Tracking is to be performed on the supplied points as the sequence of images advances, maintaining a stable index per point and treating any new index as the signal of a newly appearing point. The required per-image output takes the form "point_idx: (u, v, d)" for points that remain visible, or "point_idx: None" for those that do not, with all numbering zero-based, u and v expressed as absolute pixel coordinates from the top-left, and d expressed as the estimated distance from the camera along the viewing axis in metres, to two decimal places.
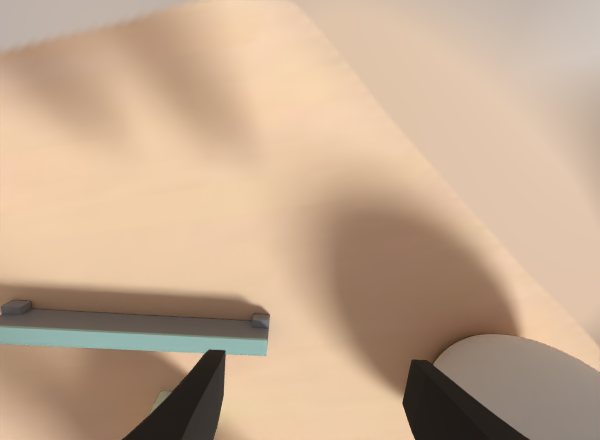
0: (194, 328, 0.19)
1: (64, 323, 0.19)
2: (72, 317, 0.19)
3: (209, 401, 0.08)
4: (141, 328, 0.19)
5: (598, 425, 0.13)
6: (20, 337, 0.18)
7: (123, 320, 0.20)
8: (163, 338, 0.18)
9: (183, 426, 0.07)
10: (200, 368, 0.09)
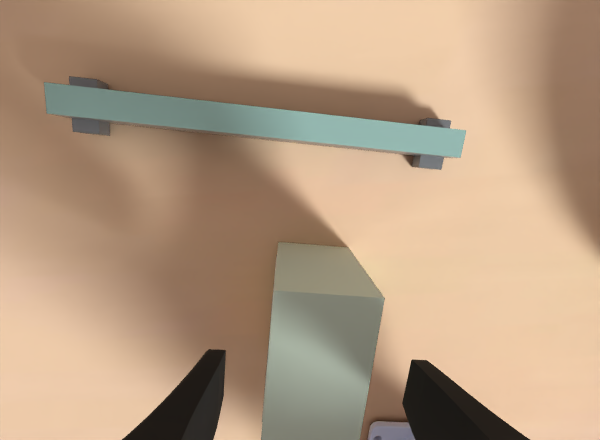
0: None
1: None
2: None
3: (209, 401, 0.08)
4: None
5: None
6: (103, 106, 0.12)
7: None
8: (316, 118, 0.12)
9: (183, 426, 0.07)
10: (200, 368, 0.09)
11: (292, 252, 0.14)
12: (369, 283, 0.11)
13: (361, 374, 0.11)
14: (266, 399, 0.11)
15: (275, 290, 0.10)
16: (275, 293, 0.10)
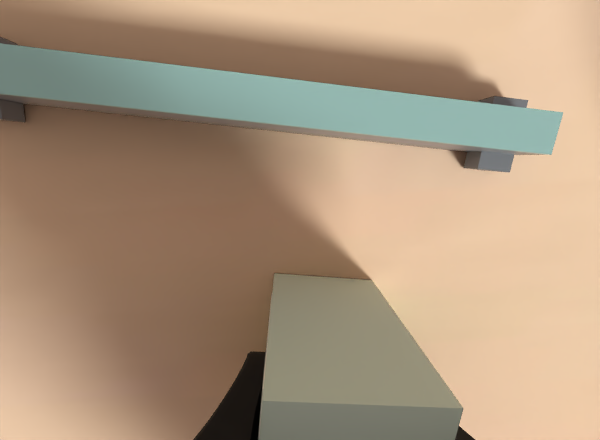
0: None
1: None
2: None
3: (259, 403, 0.09)
4: None
5: None
6: None
7: None
8: (332, 93, 0.08)
9: (248, 428, 0.07)
10: (248, 370, 0.09)
11: (294, 295, 0.10)
12: (424, 365, 0.07)
13: None
14: None
15: (265, 400, 0.05)
16: (265, 405, 0.05)
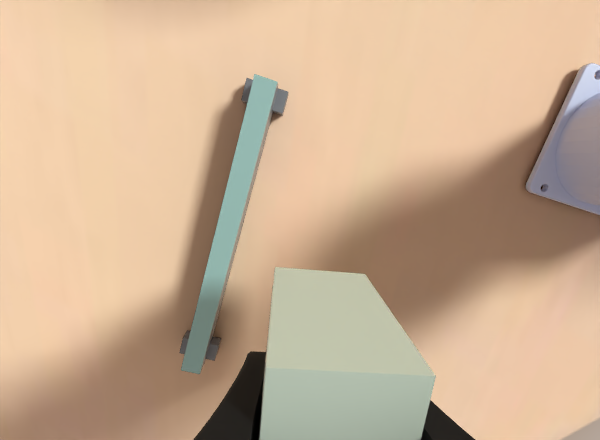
0: None
1: None
2: None
3: (259, 403, 0.09)
4: None
5: None
6: (199, 341, 0.17)
7: None
8: (226, 203, 0.16)
9: (248, 428, 0.07)
10: (248, 370, 0.09)
11: (293, 285, 0.11)
12: (406, 343, 0.08)
13: None
14: None
15: (268, 367, 0.06)
16: (268, 372, 0.06)
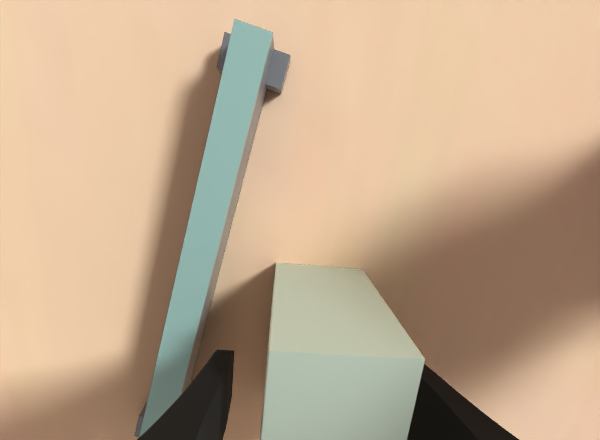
0: None
1: None
2: None
3: (219, 401, 0.08)
4: None
5: None
6: None
7: None
8: (193, 229, 0.10)
9: (196, 426, 0.07)
10: (210, 368, 0.09)
11: (294, 279, 0.11)
12: (399, 331, 0.08)
13: None
14: None
15: (271, 350, 0.07)
16: (271, 354, 0.07)
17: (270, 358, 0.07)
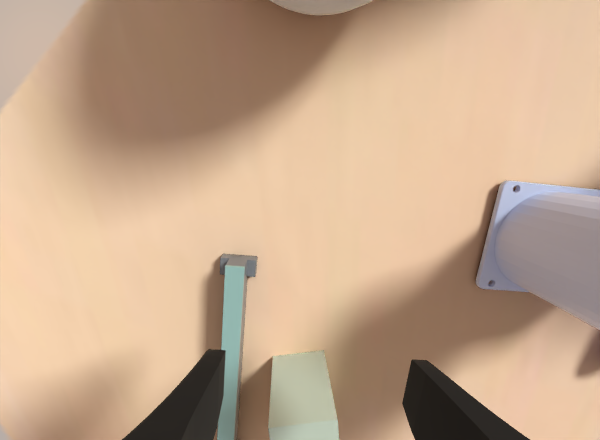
0: None
1: None
2: None
3: (209, 401, 0.08)
4: None
5: None
6: None
7: None
8: None
9: (183, 426, 0.07)
10: (200, 368, 0.09)
11: (282, 370, 0.20)
12: (330, 402, 0.17)
13: None
14: None
15: (269, 427, 0.16)
16: (269, 429, 0.16)
17: (269, 431, 0.16)
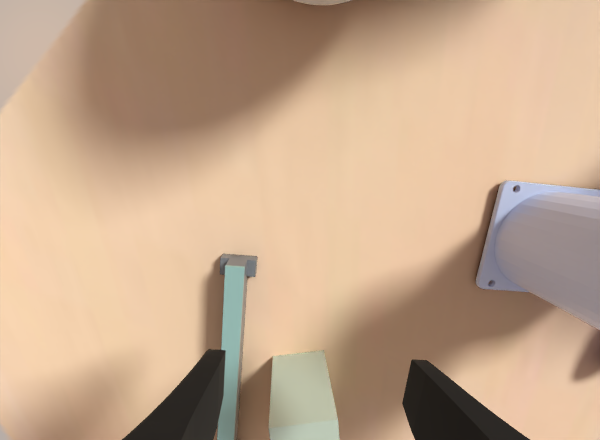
0: None
1: None
2: None
3: (209, 401, 0.08)
4: None
5: None
6: None
7: None
8: None
9: (183, 426, 0.07)
10: (200, 368, 0.09)
11: (282, 370, 0.20)
12: (331, 402, 0.17)
13: None
14: None
15: (269, 428, 0.16)
16: (269, 429, 0.16)
17: (269, 431, 0.16)
